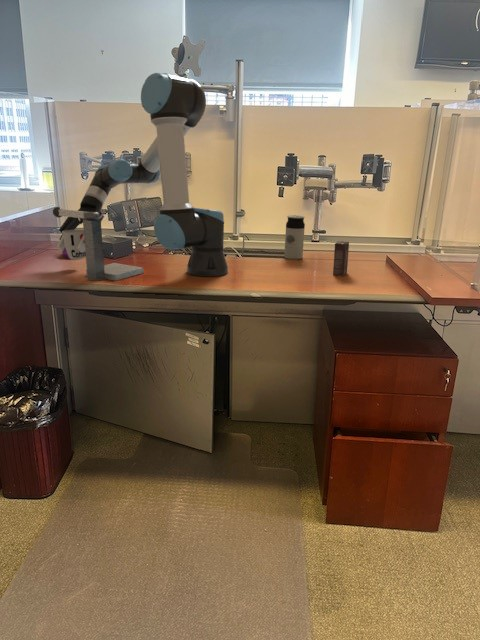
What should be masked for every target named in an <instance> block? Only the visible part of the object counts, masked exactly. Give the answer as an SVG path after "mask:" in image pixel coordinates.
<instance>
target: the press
mask: <svg viewBox="0 0 480 640" xmlns="http://www.w3.org/2000/svg"><path fill="white" fill-rule="evenodd" d="M82 225H83V226H82V228H83V229H82V230H84V240H85V252H86V254H85V261H86V262H85V263H86V269H85V274H86V276H87V280H90V281H93V282H94V281H96V282H97V281H101V280H110V281H114V282H115V281H120V280H124V279H127V278H131V277H133V276H134V277H135V276H138V275H141V274H144V267H140V266H135V265H130V264H124V263H123V264H122V263H117V262H112V263H108V264H105V261H104V260H105V259H104V258H105V257H104V248H103V247H104V246H103V245H104V244H103V233H102V231H103V230H102V221H101V220H98V219H97V220H83V223H82Z"/></svg>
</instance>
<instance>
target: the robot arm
mask: <svg viewBox="0 0 480 640" xmlns="http://www.w3.org/2000/svg"><path fill="white" fill-rule="evenodd" d="M141 87H142V88H141V92H140V103H141V106H142V109H143V110H144V111H145V112H146V113H147V114H149V117H150V123H152V125H154V126H155V128H156V137H155V139H153V142H152V143H151V144H150V145H149V148H148V149H147V150H146V151H145V153H144V154H143V156H142V157H141V158H140V159H139V161H138V162H129V161H127V160H125V159H124V158H119V159H117V160H114V161H112V162H111V163H110V164H108V165H107V164H106V165H100V166H99V167H98V168H97V170H96V171H95V173H94V175H93V178H92V180H91V182H90V184H89V186H88V188H87V190H86V191H85V193H84V195H83V197H82V200H81V201H80V203H79V209H78V210H77V211H84V212H99V217H100V219H98V220H101V222H102V221H103V219H104V218H105V216H104V214H103V212H102V208H103V205H104V204H105V203H106V201H107V198H108V196H109V194H110V192H111V190H112V189H113V188H115V187H117V186H118V185H120V184H121V185H122V184H153V183H156V182H157V181H158V180H159V179H160V180H161V191H162V201H163V203H162V205H161V207H160V208H159V215H158V216H157V217H156V218H155V220H154V222H153V223H154V224H153V231H154V235H155V238H156V240H157V241H158V243H159V244H161V246H162V247H163V248H164V249H167V250H182V249H185V248H186V249H187V248H191V252H190V256H189V260H188V263H187V265H186V272H187V274H189V275H191V276H196V277H219V276H224V275H226V274H228V272H229V266H228V263H227V260H226V256H225V253H224V243H225V242H224V237H225V235H224V234H225V233H224V232H225V228H224V227H225V219H224V217H225V216H224V212H222V211H221V210H217V209H207V208H199V207H195V206H194V205H192V204H191V202H190V197H189V185H188V184H189V182H188V171H187V170H188V169H187V160H186V159H187V158H186V145H185V136H186V134H187V133H188V132H189V130H190V129H193V128H196V126H197V125H198V123H199V122H200V121H201V119H202V118H203V116H204V114H205V110H206V106H207V105H206V104H207V97H206V95H205V94H206V93H205V90H204V89H203V87H202V85H201V84H200V83H198V82H197V80H195V79H193V78H189V77H182V76H177V75H173V74H168V73H165V72H162V73H161V72H154V73H151V74H150V75H148V77H146V79H145V80H144V83H143V84H142V86H141ZM83 220H85V219H84V218H75V217H67V218H66V219H65V220H64V222H63V223H62V224H61V226H60V228H59V229H58V230H59V232H60V233H61V236H60V237H59V241H58V243H57V246H56V248H58V250H59V251H60V252H62V251H63V250H64V248H65V244H64V239H63V233H62V231H65V230H76V229H77V227H79V225H83ZM77 249H78V250H79V251H80V252H81V253H83V251H84V249H85V240H84V234H83V237H82V239H81V241H80V243H79V245H78V247H77Z"/></svg>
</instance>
